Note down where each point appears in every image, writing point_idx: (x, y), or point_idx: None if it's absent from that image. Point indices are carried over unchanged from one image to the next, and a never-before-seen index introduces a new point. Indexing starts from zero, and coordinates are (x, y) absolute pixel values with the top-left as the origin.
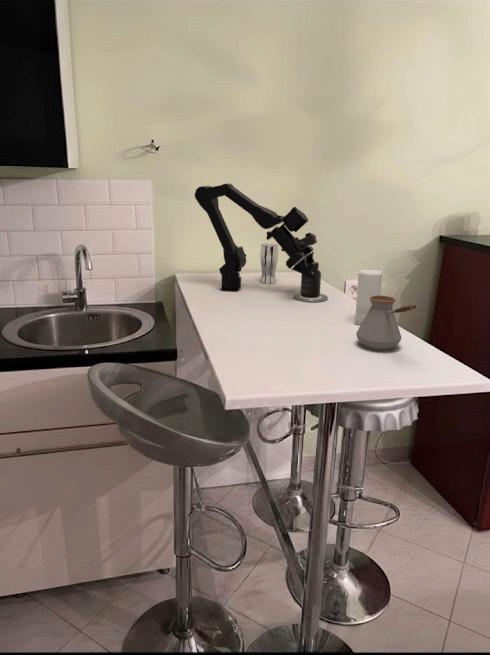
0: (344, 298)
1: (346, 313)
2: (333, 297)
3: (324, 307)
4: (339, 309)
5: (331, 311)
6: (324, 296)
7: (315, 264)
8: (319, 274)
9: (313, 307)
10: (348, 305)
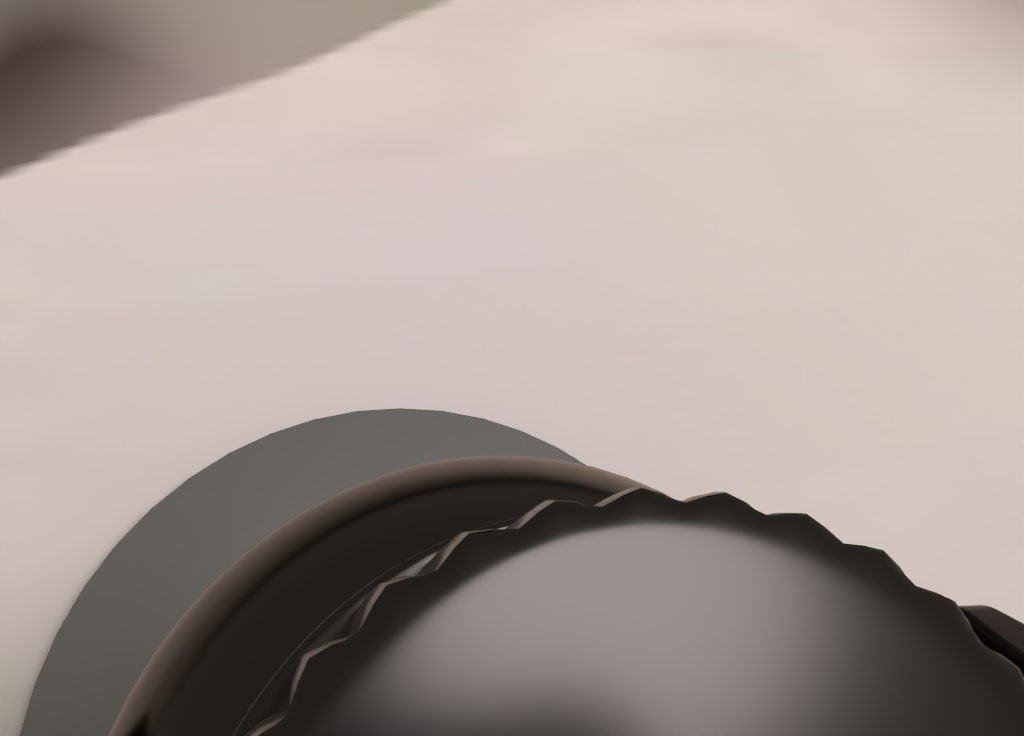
0: (160, 163)
1: (970, 100)
2: (155, 345)
3: (873, 387)
4: (853, 187)
5: (999, 271)
6: (291, 486)
7: (944, 621)
8: (630, 481)
9: (966, 541)
10: (590, 90)
